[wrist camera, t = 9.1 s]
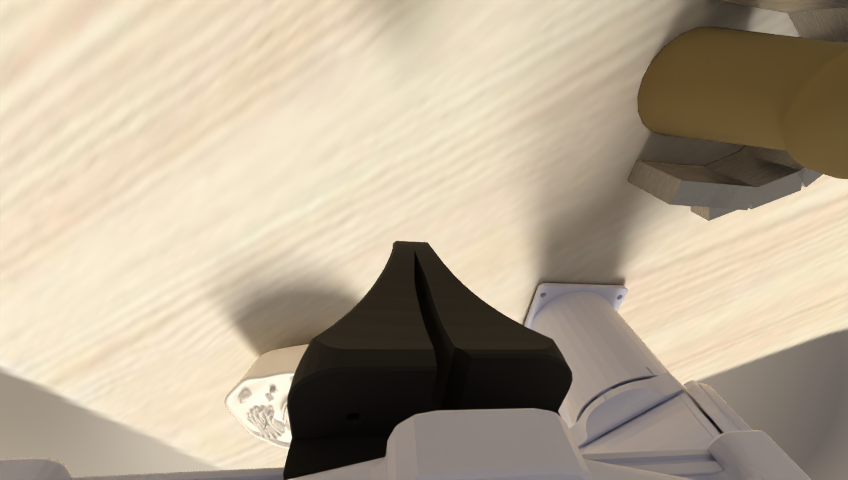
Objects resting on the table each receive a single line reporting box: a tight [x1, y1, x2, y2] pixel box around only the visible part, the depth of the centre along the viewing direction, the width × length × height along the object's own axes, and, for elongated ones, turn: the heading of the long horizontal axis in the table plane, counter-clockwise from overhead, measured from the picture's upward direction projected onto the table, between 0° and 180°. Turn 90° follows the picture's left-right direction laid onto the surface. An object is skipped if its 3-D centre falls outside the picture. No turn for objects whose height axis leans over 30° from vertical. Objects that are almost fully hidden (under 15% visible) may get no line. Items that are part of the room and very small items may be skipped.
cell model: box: [225, 344, 309, 448], centre depth 27 cm, size 10×12×7 cm
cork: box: [638, 27, 848, 179], centre depth 15 cm, size 6×6×11 cm
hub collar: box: [628, 0, 848, 221], centre depth 19 cm, size 16×12×4 cm
